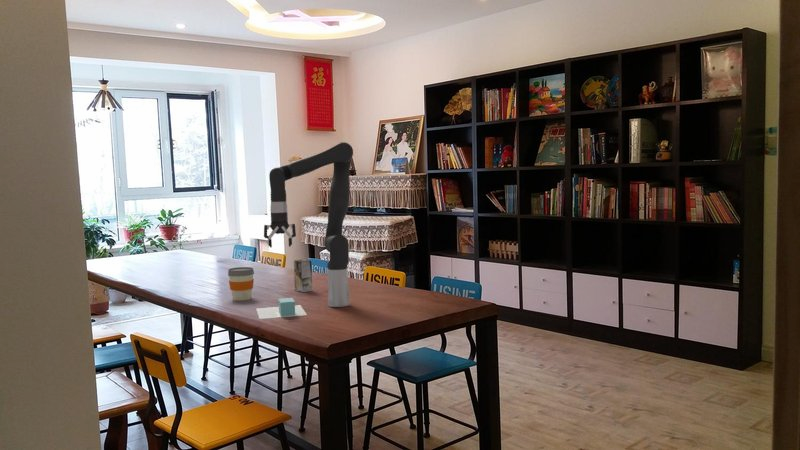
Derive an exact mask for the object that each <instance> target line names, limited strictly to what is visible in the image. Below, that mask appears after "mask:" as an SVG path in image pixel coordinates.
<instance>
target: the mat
mask: <svg viewBox="0 0 800 450" xmlns="http://www.w3.org/2000/svg"><path fill="white" fill-rule="evenodd" d="M255 309H256V312H257V316H258V319H259V320H263V319H264V320H265V319H277V318H287V317H291V316H282V317H281V315H280V313H279V306H272V307H261V308H259V307H258V308H255ZM307 315H308V314H307V312H305V309H304V308H303V307H302V305H301V304H295V315H294V316H293V317H299V316H300V317H301V316H307Z"/></svg>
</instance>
